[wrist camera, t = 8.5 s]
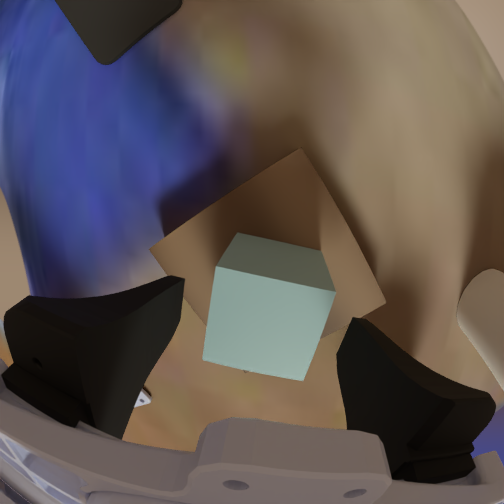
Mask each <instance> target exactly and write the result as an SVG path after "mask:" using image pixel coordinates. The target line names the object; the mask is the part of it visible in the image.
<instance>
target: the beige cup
mask: <svg viewBox="0 0 504 504" xmlns="http://www.w3.org/2000/svg"><path fill="white" fill-rule="evenodd" d="M457 320H458V324H459V327H460V328H461V329H462V331H463V332H464V333H465V335H466V336H467V337H468V339H469V340H470V341H471V343H472V344H473V346H474V347H475V348H476V350H477V351H478V353H479V354H480V356H481V357H482V358H483V360H484V361H485V363H486V364H487V366H488V367H489V369H490V370H491V372H492V373H493V375H494V376H495V378H496V380H497V381H498V383H499V384H500V386H501V387H502V389H503V391H504V273H503V272H501V271H499V270H496V269H493V268H492V269H488V270H485V271H482V272H481V273H479V274H478V275H477V276H476V277H474V278H473V279H472V280H471V282H470V283H469V284H468V286H467V287H466V288H465V290H464V291H463V294H462V296H461V298H460V301H459V303H458V309H457Z"/></svg>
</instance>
